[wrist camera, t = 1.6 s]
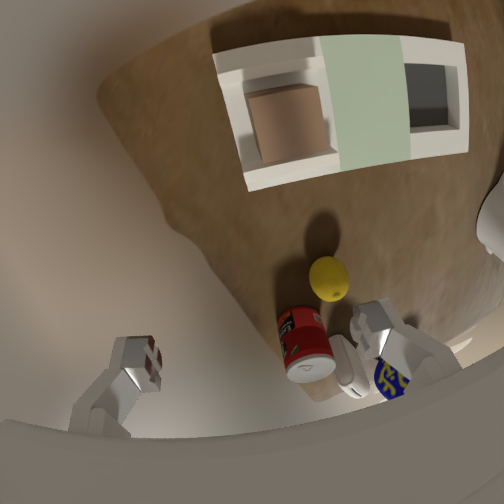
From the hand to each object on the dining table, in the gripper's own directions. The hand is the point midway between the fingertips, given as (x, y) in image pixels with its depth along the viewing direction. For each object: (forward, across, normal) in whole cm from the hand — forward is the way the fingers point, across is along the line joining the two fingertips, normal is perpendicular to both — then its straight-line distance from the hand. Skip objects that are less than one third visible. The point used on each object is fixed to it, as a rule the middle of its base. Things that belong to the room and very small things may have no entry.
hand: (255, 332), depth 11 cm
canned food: (+27, -9, +30) cm, 42 cm away
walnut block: (+23, -6, -4) cm, 24 cm away
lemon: (+26, -12, +18) cm, 34 cm away
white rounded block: (+27, -19, +41) cm, 52 cm away
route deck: (+26, -17, -6) cm, 32 cm away
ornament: (+26, -33, +50) cm, 66 cm away
